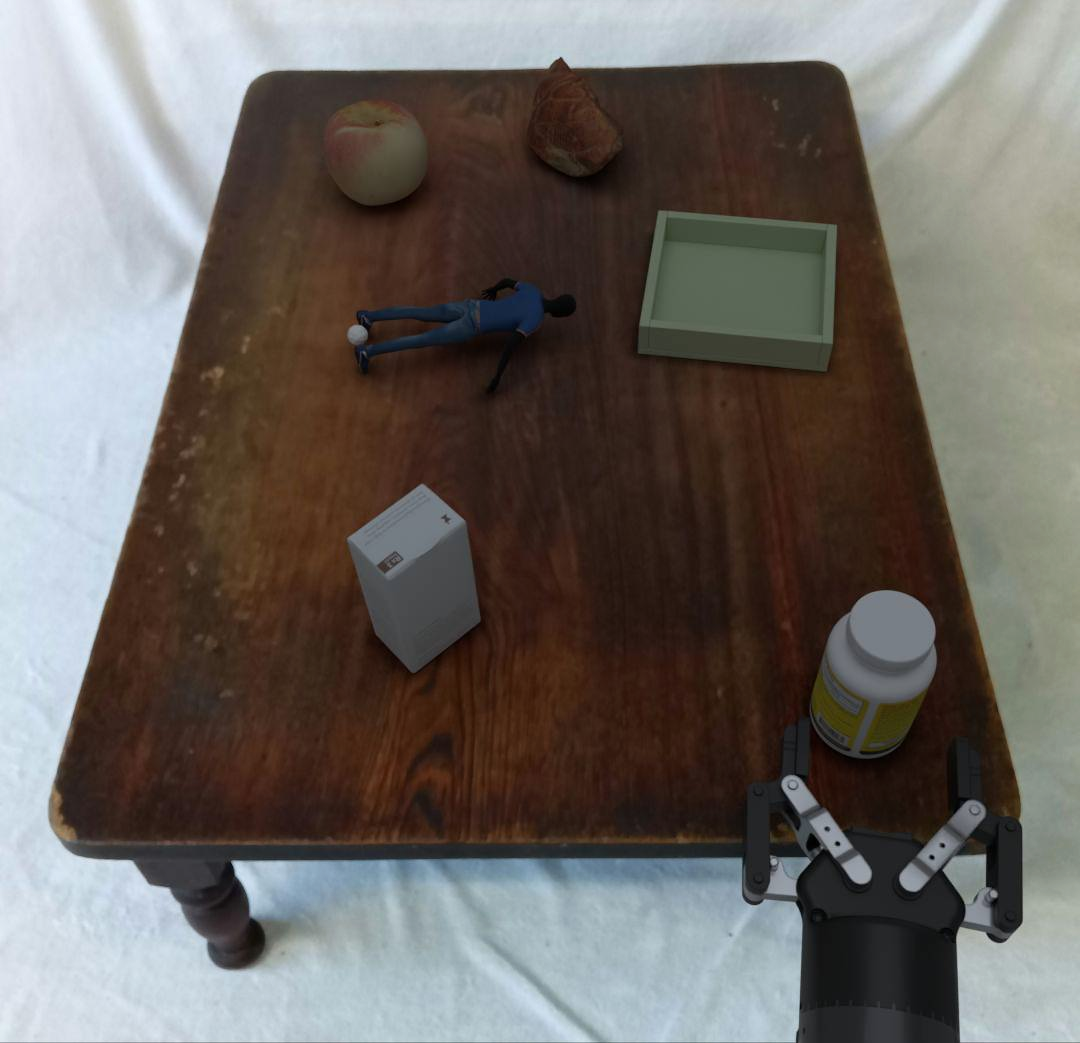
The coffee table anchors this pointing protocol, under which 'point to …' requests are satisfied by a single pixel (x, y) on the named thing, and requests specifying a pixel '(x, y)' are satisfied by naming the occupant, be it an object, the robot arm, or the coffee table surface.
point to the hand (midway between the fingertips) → (878, 732)
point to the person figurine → (465, 322)
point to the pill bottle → (874, 675)
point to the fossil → (571, 124)
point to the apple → (375, 151)
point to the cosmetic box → (417, 576)
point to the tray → (740, 291)
